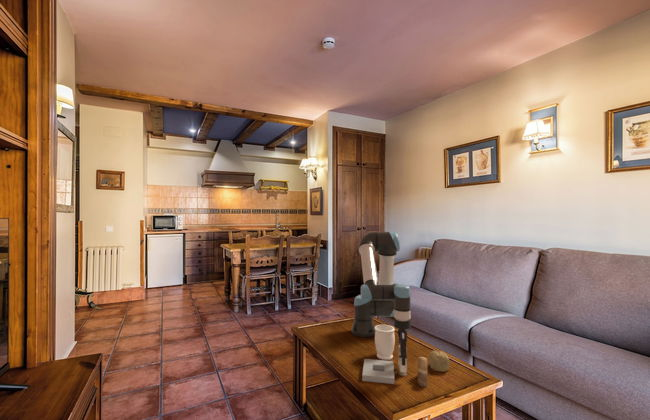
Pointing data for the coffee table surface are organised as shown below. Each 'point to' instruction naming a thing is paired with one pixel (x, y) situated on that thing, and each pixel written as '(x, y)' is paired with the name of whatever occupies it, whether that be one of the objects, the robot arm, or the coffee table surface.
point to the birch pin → (399, 363)
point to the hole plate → (379, 376)
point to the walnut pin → (422, 378)
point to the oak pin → (422, 364)
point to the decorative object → (439, 361)
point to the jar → (384, 341)
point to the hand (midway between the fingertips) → (402, 364)
